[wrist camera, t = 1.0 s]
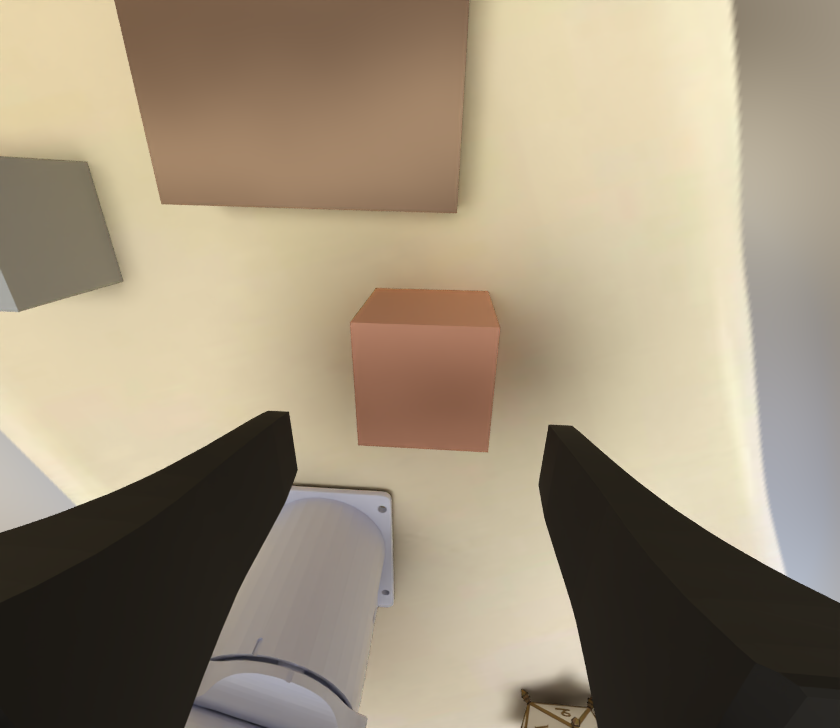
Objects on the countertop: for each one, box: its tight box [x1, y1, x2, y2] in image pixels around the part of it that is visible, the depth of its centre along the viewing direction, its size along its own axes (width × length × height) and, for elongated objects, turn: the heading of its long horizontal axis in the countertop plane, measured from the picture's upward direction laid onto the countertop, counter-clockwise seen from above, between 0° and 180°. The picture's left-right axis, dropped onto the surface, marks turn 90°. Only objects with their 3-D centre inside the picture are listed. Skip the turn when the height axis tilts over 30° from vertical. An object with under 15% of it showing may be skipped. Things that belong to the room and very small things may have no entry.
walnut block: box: [114, 0, 469, 213], centre depth 13 cm, size 10×10×4 cm
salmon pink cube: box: [350, 288, 500, 452], centre depth 16 cm, size 5×5×5 cm
